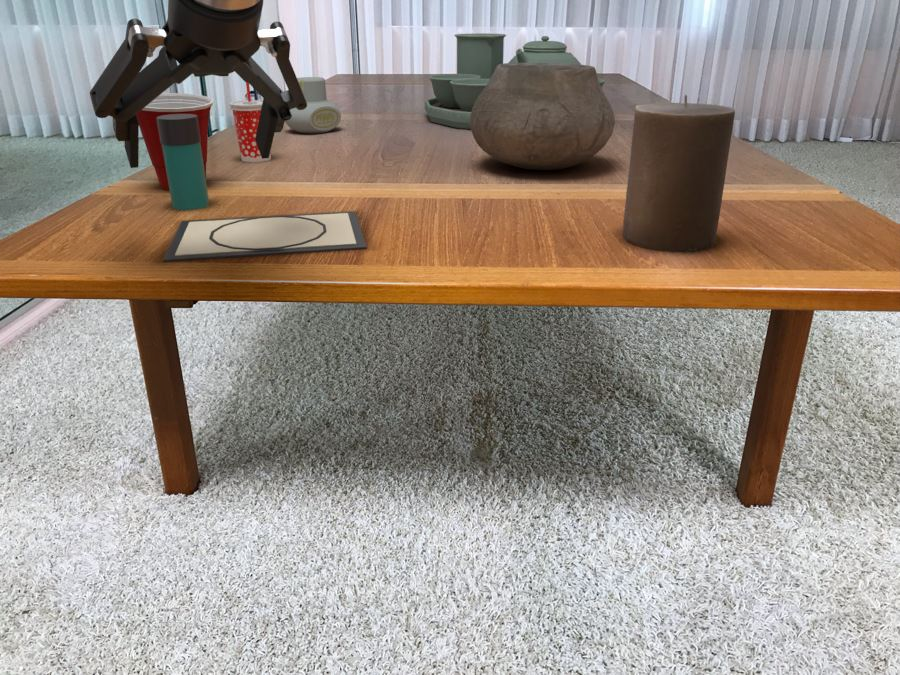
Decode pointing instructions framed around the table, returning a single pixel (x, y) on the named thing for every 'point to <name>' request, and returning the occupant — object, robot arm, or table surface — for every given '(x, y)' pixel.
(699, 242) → the pillar candle
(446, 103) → the tea set
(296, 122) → the air freshener
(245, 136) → the beverage cup
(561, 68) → the clay pot
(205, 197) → the dot marker
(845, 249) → the table surface
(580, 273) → the table surface
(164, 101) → the plastic cup
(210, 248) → the drawing board
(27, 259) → the table surface
